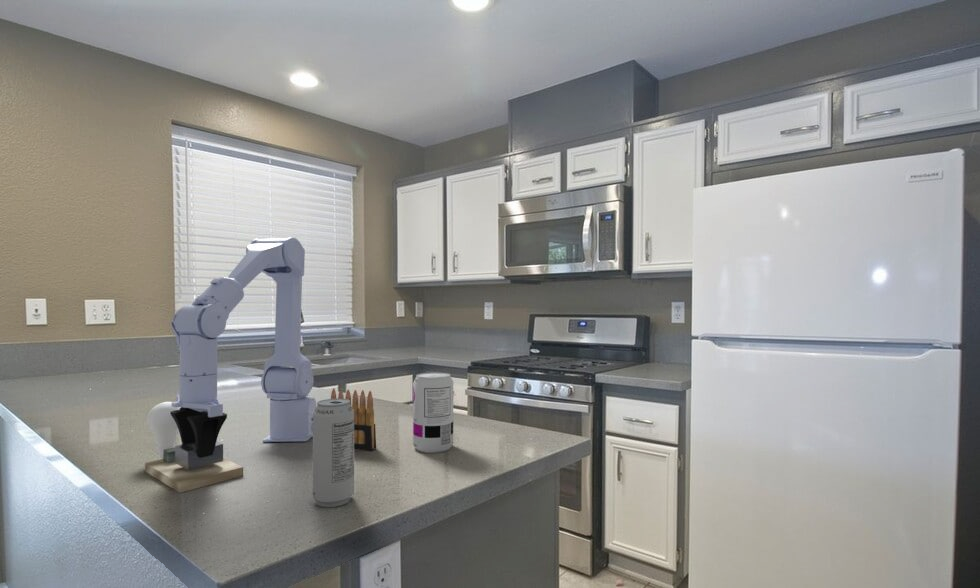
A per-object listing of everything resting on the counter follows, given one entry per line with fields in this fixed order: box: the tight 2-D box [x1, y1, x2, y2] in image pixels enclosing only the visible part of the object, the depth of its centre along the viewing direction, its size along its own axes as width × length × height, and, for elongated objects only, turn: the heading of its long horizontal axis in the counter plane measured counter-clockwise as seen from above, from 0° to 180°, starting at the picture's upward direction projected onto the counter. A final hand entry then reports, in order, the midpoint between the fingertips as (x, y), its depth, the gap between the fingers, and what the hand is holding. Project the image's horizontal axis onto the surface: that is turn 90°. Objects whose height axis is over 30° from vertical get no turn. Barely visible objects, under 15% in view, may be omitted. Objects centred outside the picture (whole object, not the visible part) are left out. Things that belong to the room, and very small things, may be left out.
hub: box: [174, 440, 224, 470], centre depth 88 cm, size 6×6×3 cm
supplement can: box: [412, 372, 454, 454], centre depth 104 cm, size 8×8×15 cm
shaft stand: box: [144, 446, 244, 494], centre depth 89 cm, size 16×10×4 cm, turn 51°
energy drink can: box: [312, 398, 355, 508], centre depth 77 cm, size 6×6×15 cm
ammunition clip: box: [330, 388, 377, 452], centre depth 105 cm, size 11×2×12 cm, turn 71°
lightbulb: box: [146, 401, 181, 459], centre depth 97 cm, size 6×6×11 cm
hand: (198, 452), depth 88 cm, fingers closed on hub, 6 cm apart
